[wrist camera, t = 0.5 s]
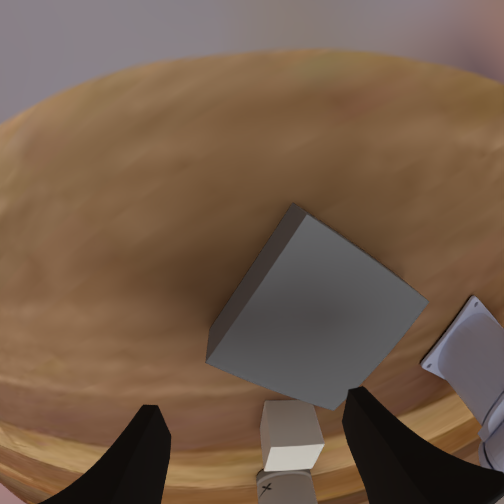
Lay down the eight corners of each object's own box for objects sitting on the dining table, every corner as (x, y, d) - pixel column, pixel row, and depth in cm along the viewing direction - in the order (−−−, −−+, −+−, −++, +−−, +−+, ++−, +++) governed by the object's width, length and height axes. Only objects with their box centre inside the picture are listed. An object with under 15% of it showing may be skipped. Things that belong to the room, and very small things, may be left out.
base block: (400, 277, 20) (429, 301, 16) (320, 376, 22) (333, 410, 18) (291, 201, 17) (307, 214, 14) (209, 326, 20) (205, 362, 16)
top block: (302, 426, 24) (312, 468, 19) (259, 427, 23) (264, 471, 18) (311, 399, 22) (324, 443, 18) (264, 400, 22) (271, 447, 17)
